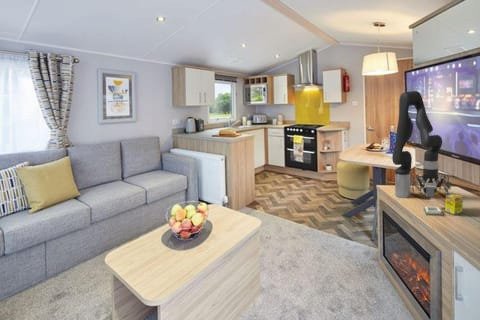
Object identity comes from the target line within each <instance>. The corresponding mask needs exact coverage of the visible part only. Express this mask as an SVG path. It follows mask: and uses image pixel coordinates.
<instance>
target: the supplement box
mask: <svg viewBox="0 0 480 320" xmlns="http://www.w3.org/2000/svg"><path fill="white" fill-rule="evenodd" d="M463 202H464V196H462V195H459V194H456V193H452V194H446V195H445V209H444V212H445V213H447V214H449V215H452V216H456V215H457V216H458V215H462V214H463V204H464V203H463Z"/></svg>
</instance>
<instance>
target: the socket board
mask: <svg viewBox="0 0 480 320" xmlns="http://www.w3.org/2000/svg"><path fill="white" fill-rule="evenodd" d="M423 212H424V214H425V216H438V217H443V216H444V214H443V212H442V210H441V209H440V207H439V206H425V207H423Z"/></svg>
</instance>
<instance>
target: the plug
mask: <svg viewBox="0 0 480 320" xmlns="http://www.w3.org/2000/svg"><path fill="white" fill-rule="evenodd" d="M434 189H435V186H434V185H433V183H428V185H427V187H426V194H425V193H424V194H425V197H426V198H434V197H435V194H434Z"/></svg>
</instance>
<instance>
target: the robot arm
mask: <svg viewBox="0 0 480 320" xmlns="http://www.w3.org/2000/svg"><path fill="white" fill-rule="evenodd" d="M398 101H399V104H398V105H399V106H398V121H397V127H396V128H397V129H396V138H395V143H394V148H393V150H392V157H391V159H392V163H393V164H394V165H396V166H399V165H400V166H399V167H397V168H395V170H394V183H395V184H394V187H395V188H394V190H395V191H394V195H395V196H394V197H396V198H401V199H402V198H403V199H407V198H410V197H411V171H412V163H413V162H412V159H413V157H412V154H411V152H410V151H408V150H404V148H405V145H407V143H408V142H409V141H410V139H411V138H412V135H413V132H414V122H413V121H412V119H411V117H410V115H409V108H410V107H412V106H414V107H415V111H416V115H415V125H416V127H417V129H418V132H419V137H420V143H421V145H422V146H423V147H424V148H426V149H428V148H429V149H428V150H425V152H424V154H423V165H422V167H423V169H422V176H421V177H418V176H417V182H418V184H419V186H420V187H421V188H422V190H423V193H424V194H426V187H427V185H428V184H433V185H434V186H435V189H434V195H435V194H436V193H437V189H438V188H441V187H442V184H443V183H444V178H443V177H439V152H440V151H441V149H442V148H441V147H442V145H443V138H442V137H441V135H438V134H432V135H430V133H432V132H433V130H434V128H433V126H432V125H433V124H432V123H431V121H430V119H429V118H428V114H427V112H426V106H425V103H424V99H423V97H422V94H421V93H420V92H419V91H418V90H412V91H404V92H402V93H401V94H400V96H399V100H398ZM422 180H423V182H422ZM437 181H438V183H436V182H437Z"/></svg>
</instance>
